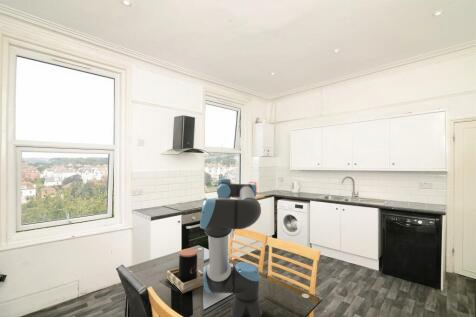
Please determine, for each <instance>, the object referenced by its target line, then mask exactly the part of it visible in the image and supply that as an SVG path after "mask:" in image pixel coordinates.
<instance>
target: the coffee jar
mask: <svg viewBox="0 0 476 317" xmlns="http://www.w3.org/2000/svg"><path fill="white" fill-rule="evenodd" d="M178 253H179V254H178V255H179V257H178V258H179V259H178V268H179V280H180V281H181V282H183V283H185V282H188V281H191V280H193V279H196V278H197V269H198V255H197V254H198V250H197V249H195V248H184V249H181V250H180V251H179V252H178Z"/></svg>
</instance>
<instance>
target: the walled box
mask: <svg viewBox="0 0 476 317" xmlns="http://www.w3.org/2000/svg"><path fill="white" fill-rule="evenodd" d="M167 279H168V280H169V281H170V282H171V284H172V285H173V284H174V285H175V286H176V287H177V288H178V289H179V290H180V291H181V292H182V293H181V292H180V291H179V290H178V289H177V288H176V287H175V286H174V285H173V286H174V287H175V288H176V289H177V290H178V291H179V292H180V293H181V294H185V293H188V292H190V291H193V290H195V289H198V288H199V287H202V286H203V287H204V272H202V271H201V270H199V269H198V268H197V278H196V279H193V280H191V281H188V282H185V283H183V282H181V281H180V280H179V267H176V268H172V269H169V270H167V271H166V280H167ZM168 280H167V281H168ZM169 281H168V282H169ZM170 282H169V283H170Z"/></svg>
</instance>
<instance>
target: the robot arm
mask: <svg viewBox="0 0 476 317" xmlns="http://www.w3.org/2000/svg"><path fill="white" fill-rule="evenodd" d="M231 182H232V181H231V179H230V178H219V179H218V181H217V188H216V194H217V199H216V198H206V199H205V200H203V203H202V207H201V213H200V221H199V228H200V229H203V230H204V233H205V235H207V236H208V238H207V240H208V256H209V257H208V258H209V259H208V260H209V263H208V265H207V266H205V268H204V269H203V273H204V285H203V288H204V291H205V292H206V293H208V294H234V299H233V301H232V302H233V303H232V304H231V308H230V309H231V310H230V315H231V317H261V315H262V316H263V309H262V304H261V301H260V297H259V296H260V270H259V268H258V267H257V265H254V264H253V263H251V262H245V261H240V262H237V263H236V264H235V266H231V264H230V262H229V237H230V238H234V237H235V236H234V235H235V230H243V229H246V228H249V227H251V226H253V225H254V224H255V223H256V222H257V221H258V220H259V218H260V217H261V214H262V207H261V204H260V202H259V201H258V199H256V197H257V186H256V184H252V183H231ZM231 198H234V199H231ZM235 198H239V199H235Z"/></svg>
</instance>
